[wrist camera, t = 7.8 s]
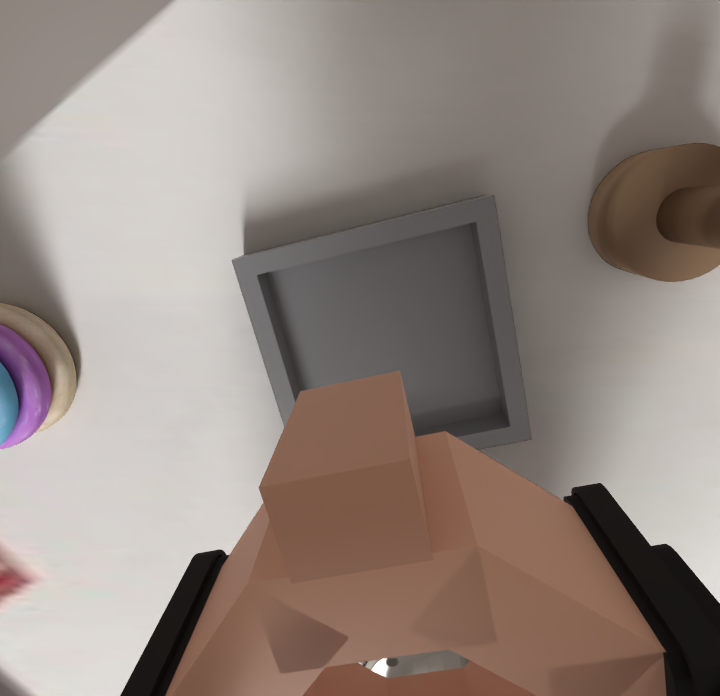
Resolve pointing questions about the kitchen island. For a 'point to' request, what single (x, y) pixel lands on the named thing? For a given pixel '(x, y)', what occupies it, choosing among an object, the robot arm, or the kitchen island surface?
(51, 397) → the stacking toy
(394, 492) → the ring
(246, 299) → the tray
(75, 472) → the kitchen island surface
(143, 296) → the kitchen island surface
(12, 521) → the kitchen island surface
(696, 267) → the rod
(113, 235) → the kitchen island surface
